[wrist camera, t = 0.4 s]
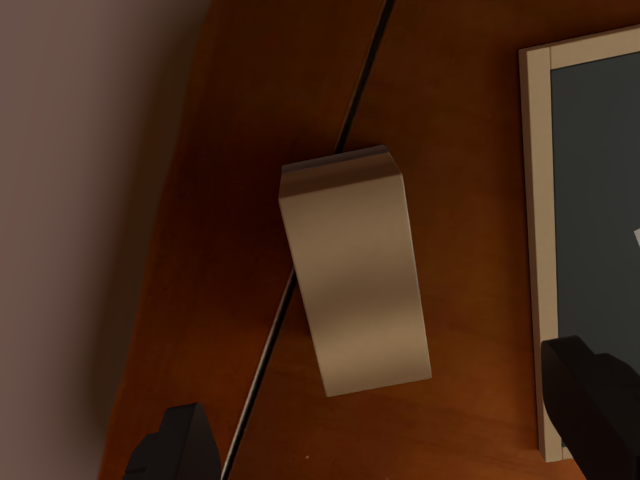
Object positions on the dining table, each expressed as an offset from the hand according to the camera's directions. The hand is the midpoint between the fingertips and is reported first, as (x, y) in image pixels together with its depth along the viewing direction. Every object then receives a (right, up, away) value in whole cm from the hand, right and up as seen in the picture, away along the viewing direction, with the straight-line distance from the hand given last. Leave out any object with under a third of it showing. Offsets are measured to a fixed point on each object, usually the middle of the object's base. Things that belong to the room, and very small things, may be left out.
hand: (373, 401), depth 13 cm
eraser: (0, +3, +15) cm, 15 cm away
